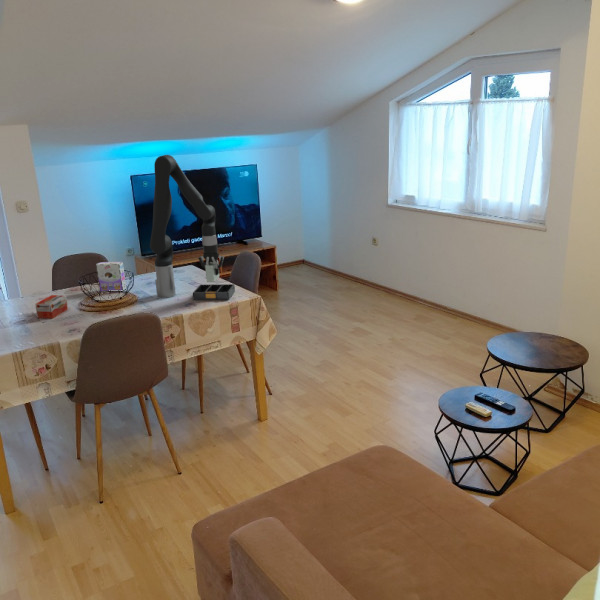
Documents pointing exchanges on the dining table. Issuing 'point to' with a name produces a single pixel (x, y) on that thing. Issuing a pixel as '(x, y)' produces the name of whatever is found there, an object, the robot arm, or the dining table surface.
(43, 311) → the medicine box
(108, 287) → the candy box
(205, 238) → the robot arm
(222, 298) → the rack
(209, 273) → the grey-green rectangular block
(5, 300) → the dining table surface
